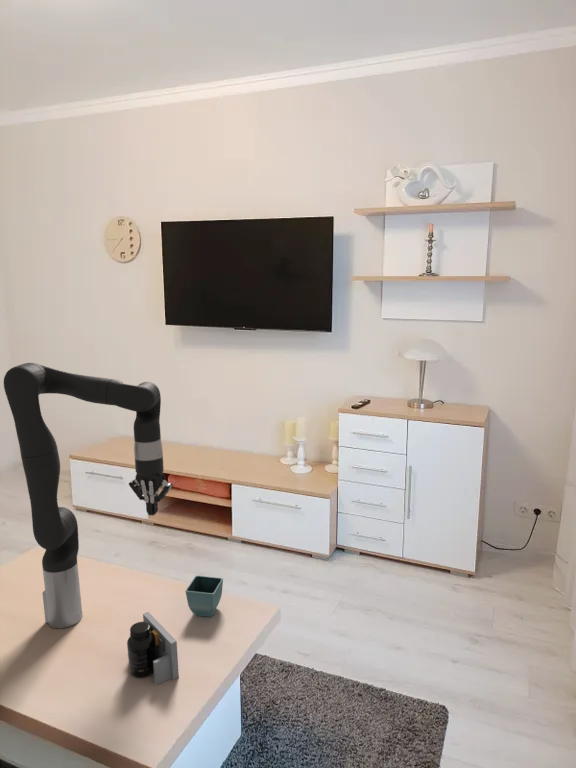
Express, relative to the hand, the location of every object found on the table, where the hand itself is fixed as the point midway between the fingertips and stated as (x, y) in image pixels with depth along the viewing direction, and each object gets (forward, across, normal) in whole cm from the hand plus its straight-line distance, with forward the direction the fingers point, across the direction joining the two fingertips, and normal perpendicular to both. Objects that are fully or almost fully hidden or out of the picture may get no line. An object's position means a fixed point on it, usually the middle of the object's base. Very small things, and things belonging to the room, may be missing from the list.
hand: (152, 514), depth 159 cm
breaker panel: (+32, +9, -19) cm, 38 cm away
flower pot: (+32, +12, +6) cm, 35 cm away
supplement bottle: (+32, +7, -21) cm, 39 cm away
